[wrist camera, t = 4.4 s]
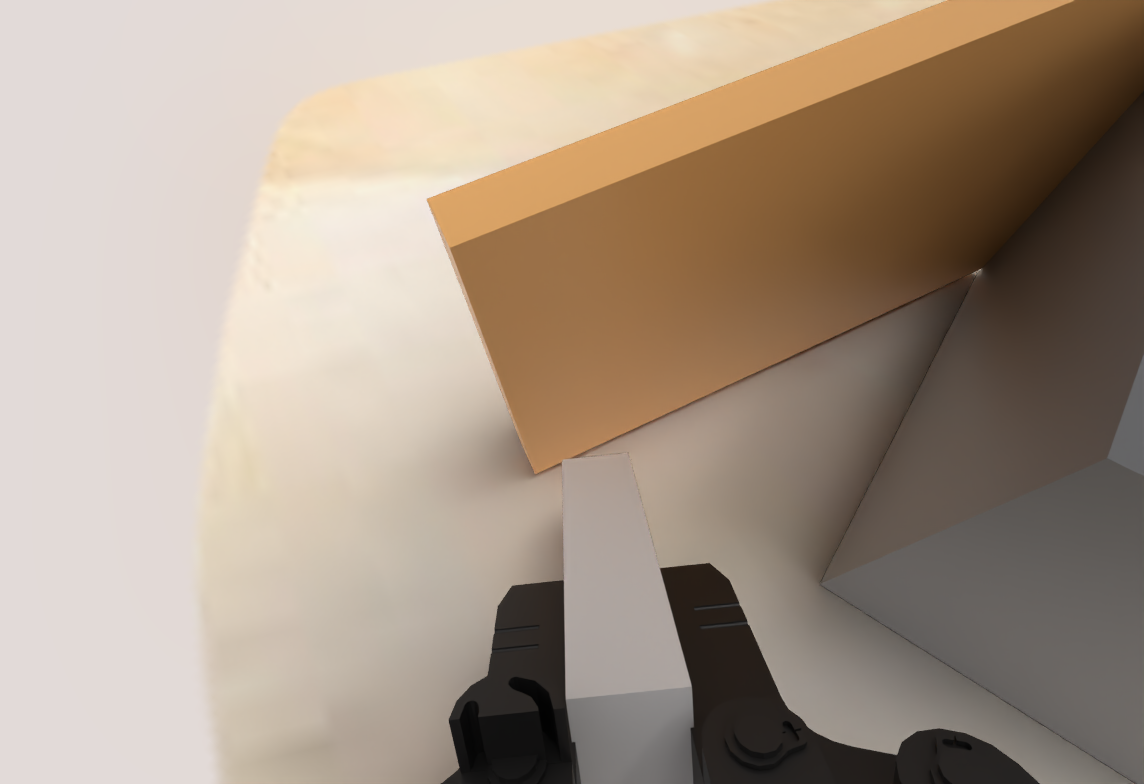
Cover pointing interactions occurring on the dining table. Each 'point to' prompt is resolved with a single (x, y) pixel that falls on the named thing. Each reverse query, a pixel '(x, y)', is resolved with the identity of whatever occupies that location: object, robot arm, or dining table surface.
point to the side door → (776, 208)
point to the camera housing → (1030, 472)
